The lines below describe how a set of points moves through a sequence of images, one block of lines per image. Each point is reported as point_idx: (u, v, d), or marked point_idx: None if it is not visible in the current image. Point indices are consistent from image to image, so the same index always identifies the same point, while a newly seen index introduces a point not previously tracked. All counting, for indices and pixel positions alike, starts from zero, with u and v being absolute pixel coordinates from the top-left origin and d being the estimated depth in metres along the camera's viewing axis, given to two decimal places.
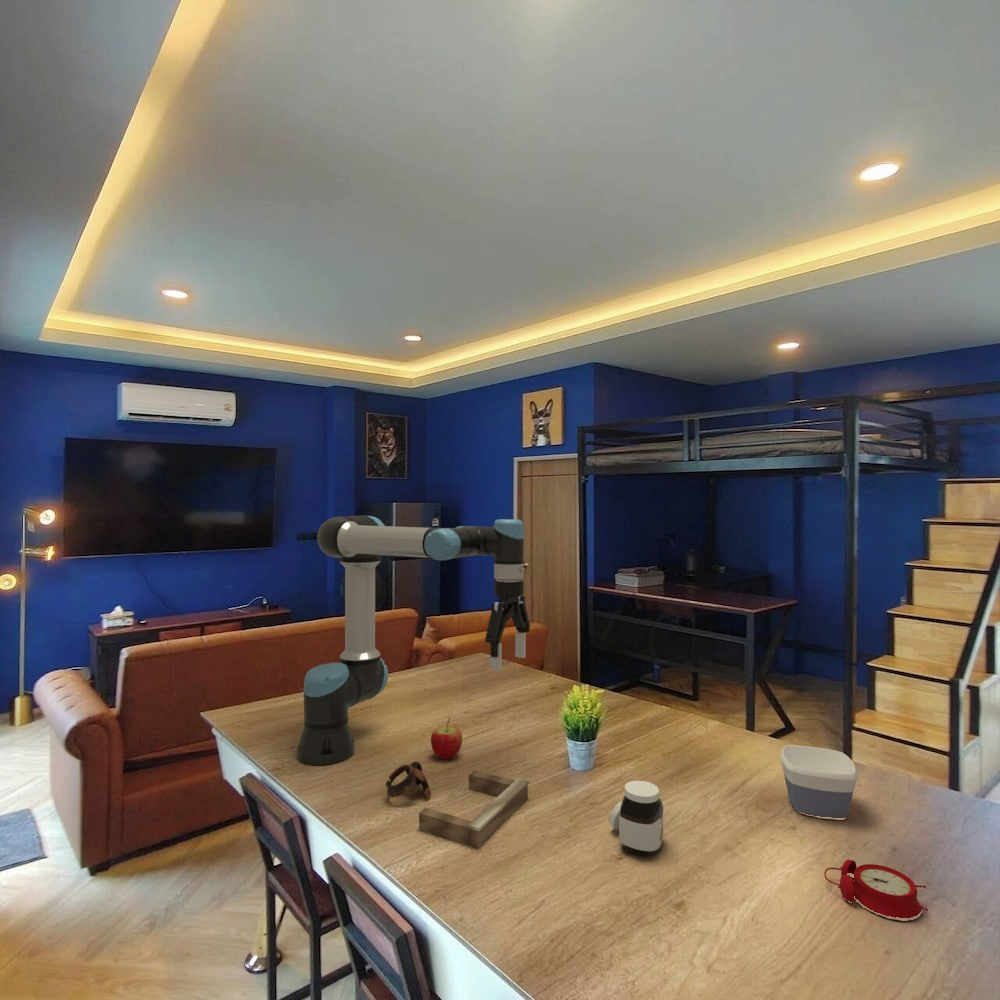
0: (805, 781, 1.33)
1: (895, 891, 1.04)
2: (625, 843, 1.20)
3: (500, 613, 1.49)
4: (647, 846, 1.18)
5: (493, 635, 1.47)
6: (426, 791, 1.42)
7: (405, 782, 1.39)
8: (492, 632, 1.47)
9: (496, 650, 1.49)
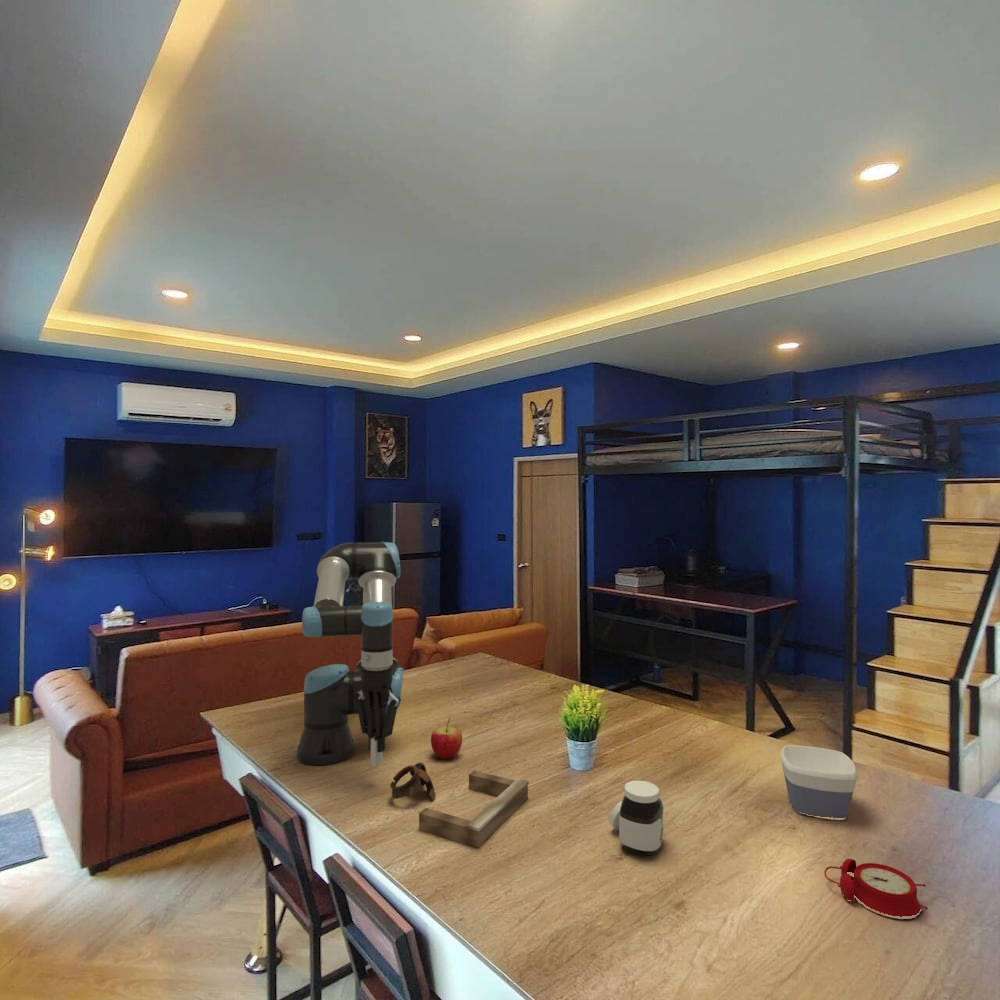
0: (805, 781, 1.33)
1: (895, 889, 1.04)
2: (625, 843, 1.20)
3: (358, 703, 1.50)
4: (647, 846, 1.18)
5: None
6: (431, 792, 1.41)
7: (410, 783, 1.39)
8: None
9: (370, 743, 1.49)
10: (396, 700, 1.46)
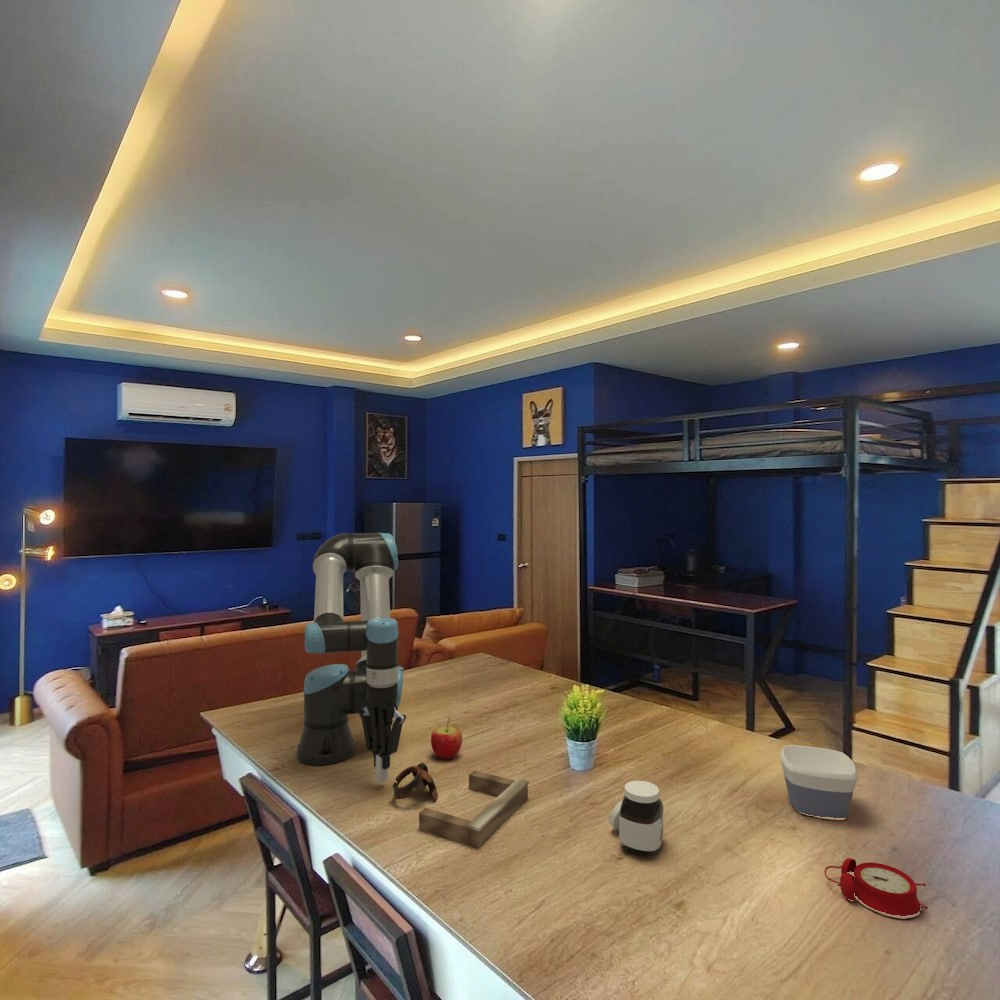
0: (805, 781, 1.33)
1: (894, 889, 1.05)
2: (625, 843, 1.20)
3: (363, 720, 1.49)
4: (647, 846, 1.18)
5: None
6: (433, 793, 1.41)
7: (413, 784, 1.38)
8: None
9: (375, 760, 1.48)
10: (401, 717, 1.45)
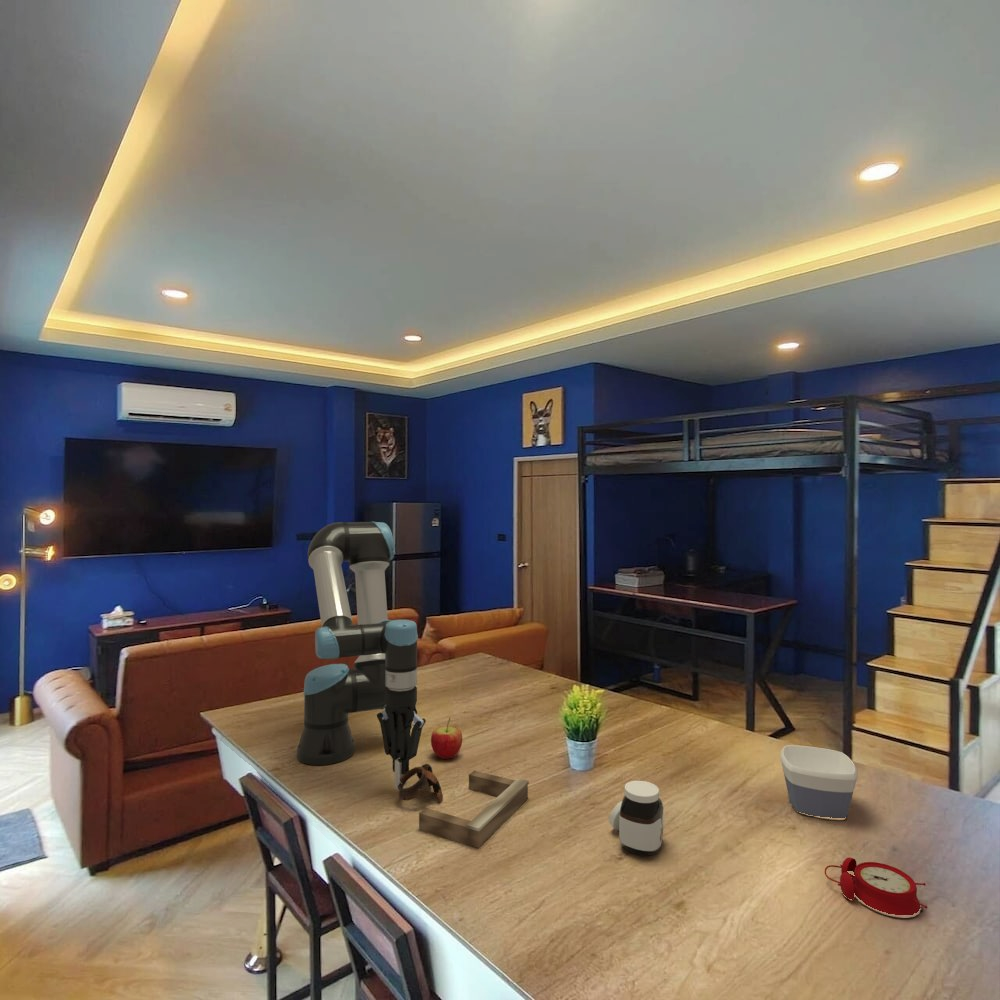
0: (805, 781, 1.33)
1: (894, 888, 1.05)
2: (625, 843, 1.20)
3: (381, 724, 1.46)
4: (647, 846, 1.18)
5: None
6: (439, 793, 1.41)
7: (418, 785, 1.38)
8: None
9: (394, 764, 1.45)
10: (421, 721, 1.42)
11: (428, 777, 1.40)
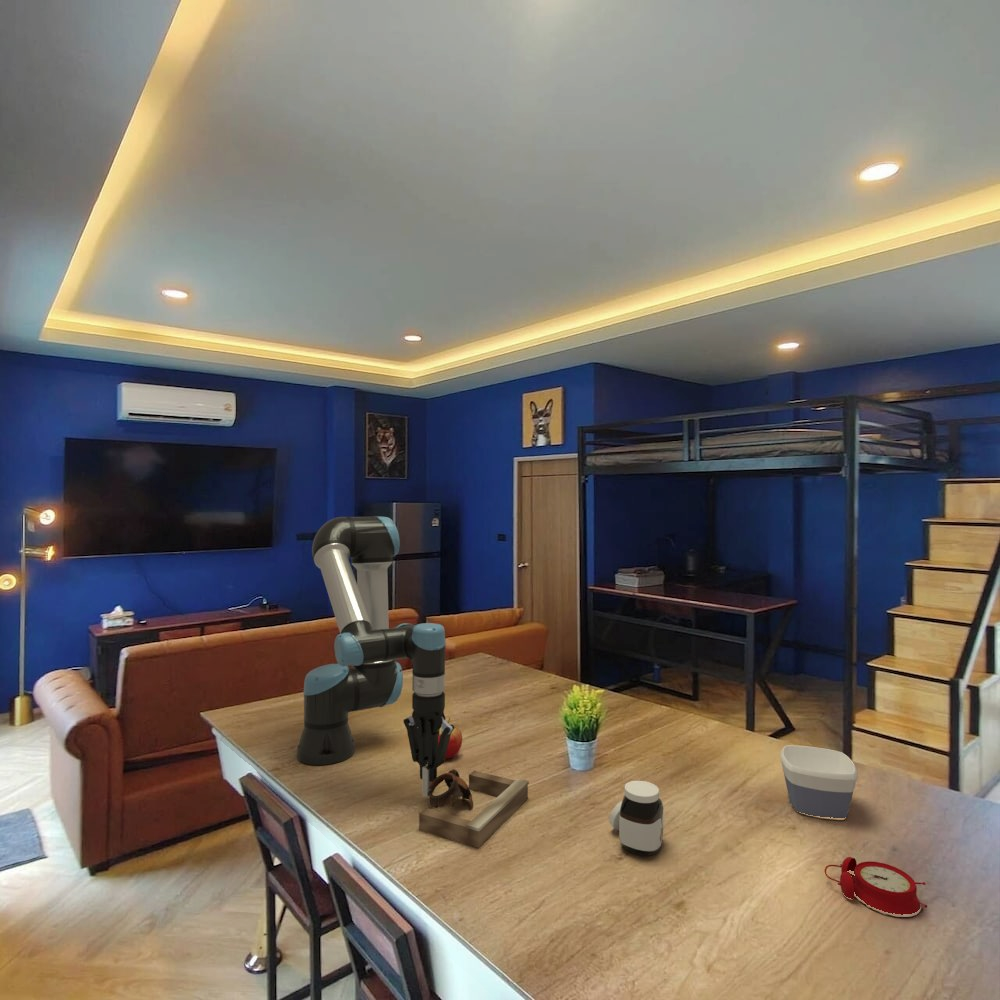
0: (805, 781, 1.33)
1: (894, 887, 1.05)
2: (625, 843, 1.20)
3: (408, 730, 1.43)
4: (647, 846, 1.18)
5: None
6: (470, 799, 1.38)
7: (450, 791, 1.34)
8: None
9: (421, 772, 1.42)
10: (450, 728, 1.38)
11: (459, 783, 1.37)
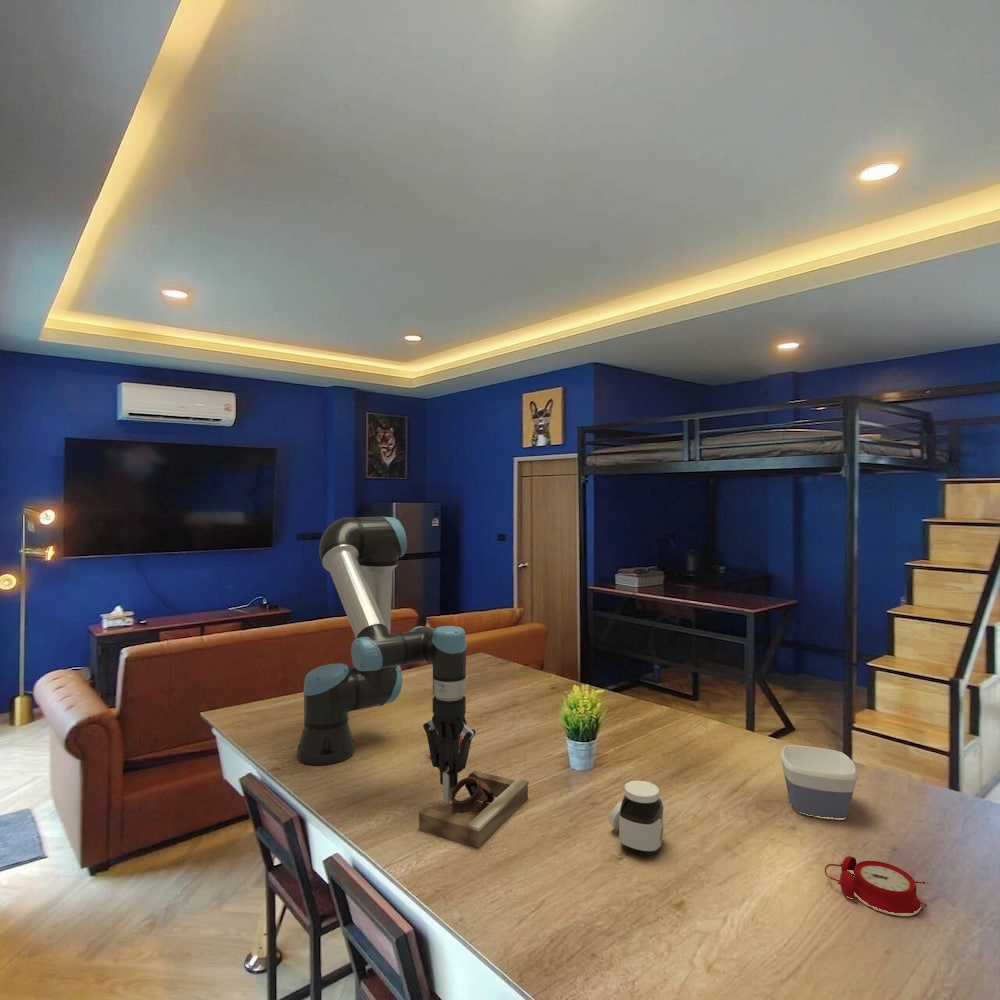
0: (805, 781, 1.33)
1: (894, 887, 1.05)
2: (625, 843, 1.20)
3: (428, 734, 1.40)
4: (647, 846, 1.18)
5: None
6: None
7: (476, 796, 1.33)
8: None
9: (442, 777, 1.39)
10: (471, 733, 1.36)
11: (483, 787, 1.35)
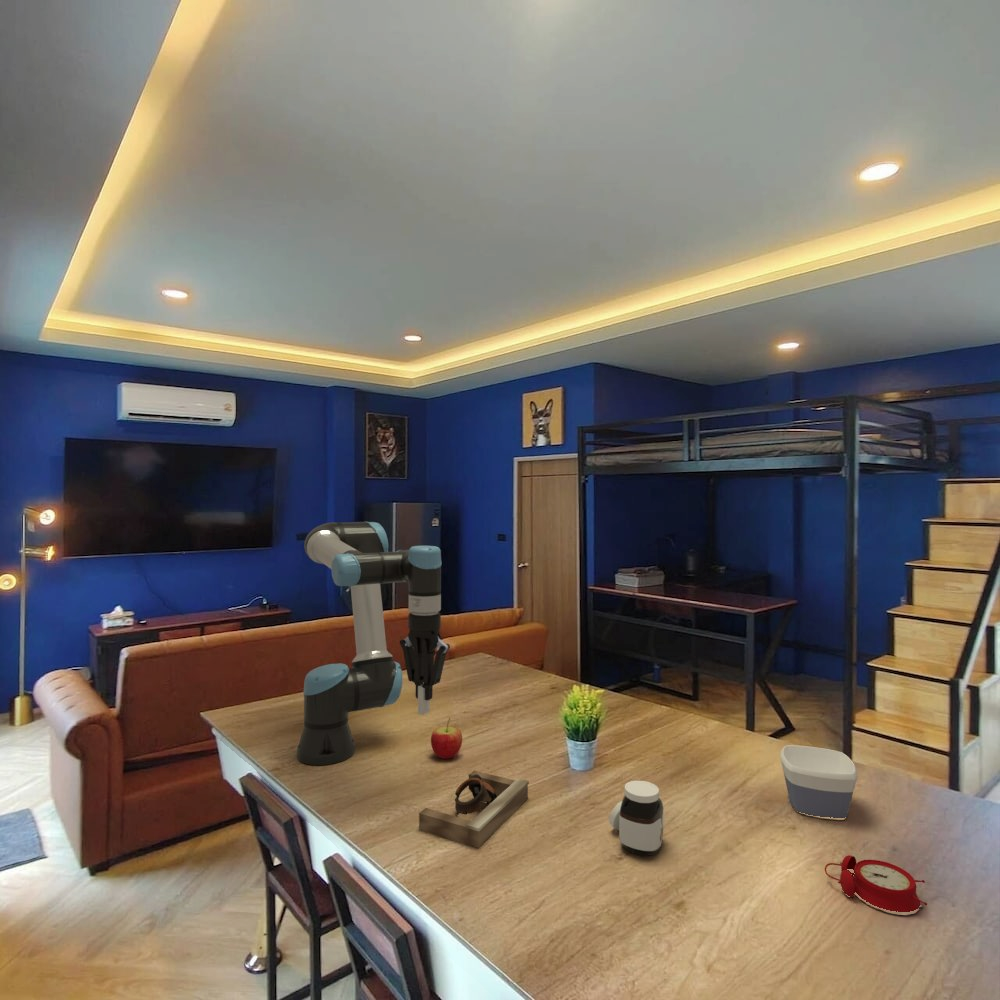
0: (805, 781, 1.33)
1: (894, 885, 1.05)
2: (625, 843, 1.20)
3: (404, 650, 1.44)
4: (647, 846, 1.18)
5: None
6: None
7: (480, 797, 1.32)
8: None
9: (417, 691, 1.43)
10: (445, 646, 1.40)
11: (487, 788, 1.35)
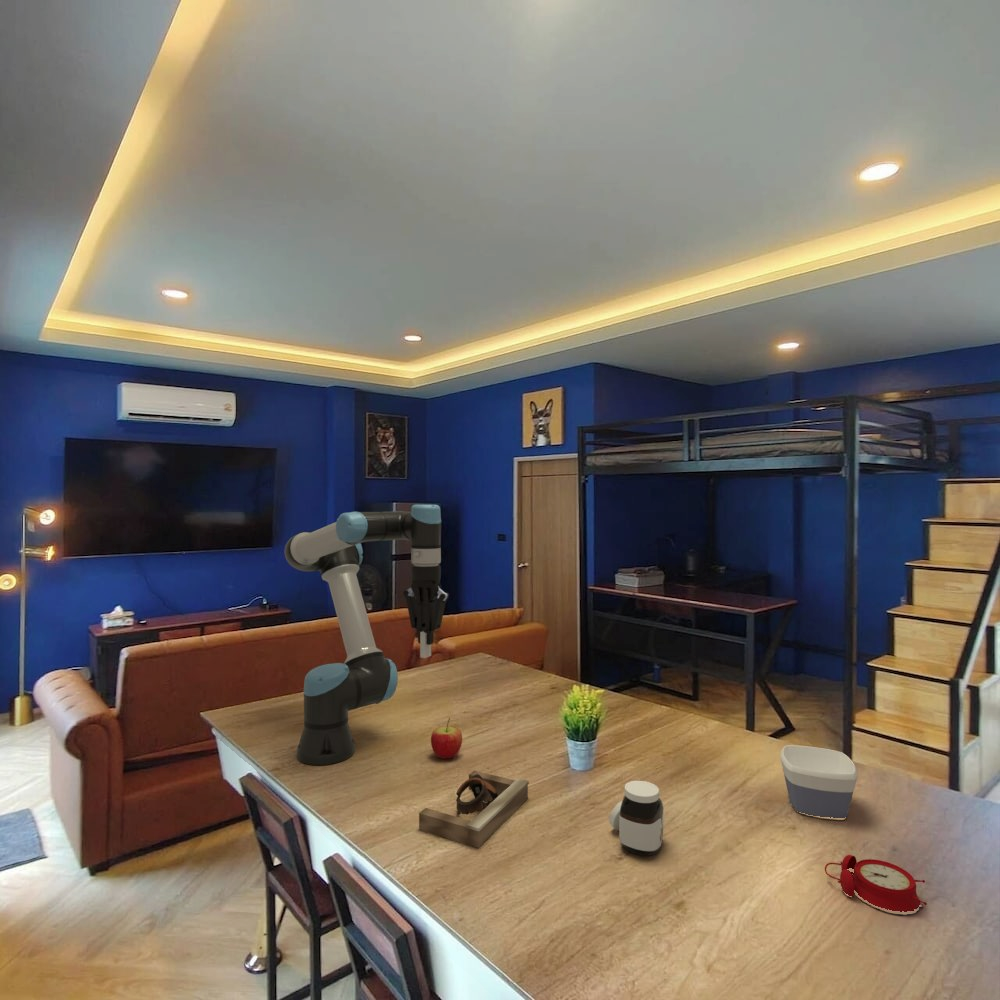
0: (805, 781, 1.33)
1: (894, 885, 1.06)
2: (625, 843, 1.20)
3: (407, 600, 1.58)
4: (647, 846, 1.18)
5: None
6: None
7: (481, 797, 1.32)
8: None
9: (419, 637, 1.57)
10: (445, 594, 1.53)
11: (488, 788, 1.35)
